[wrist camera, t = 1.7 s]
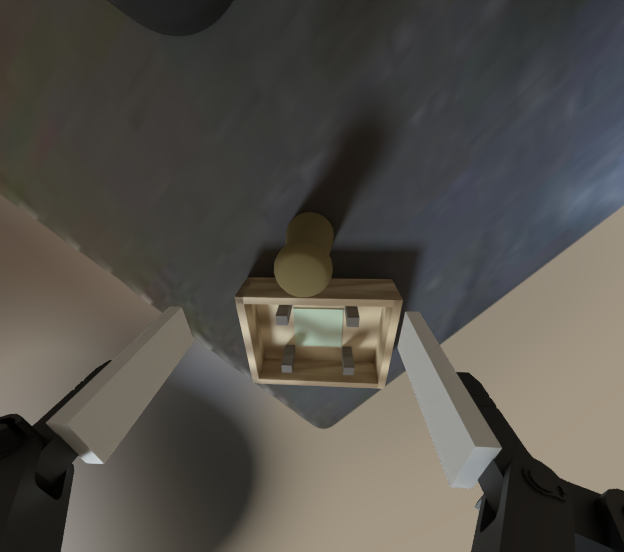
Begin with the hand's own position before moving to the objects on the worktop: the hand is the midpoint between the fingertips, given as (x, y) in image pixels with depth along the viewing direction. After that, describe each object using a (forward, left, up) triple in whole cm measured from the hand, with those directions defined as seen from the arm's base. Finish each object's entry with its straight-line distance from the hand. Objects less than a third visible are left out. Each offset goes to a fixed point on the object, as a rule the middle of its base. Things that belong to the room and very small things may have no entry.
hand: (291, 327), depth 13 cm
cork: (0, 0, -17) cm, 17 cm away
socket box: (+14, +1, -17) cm, 22 cm away
